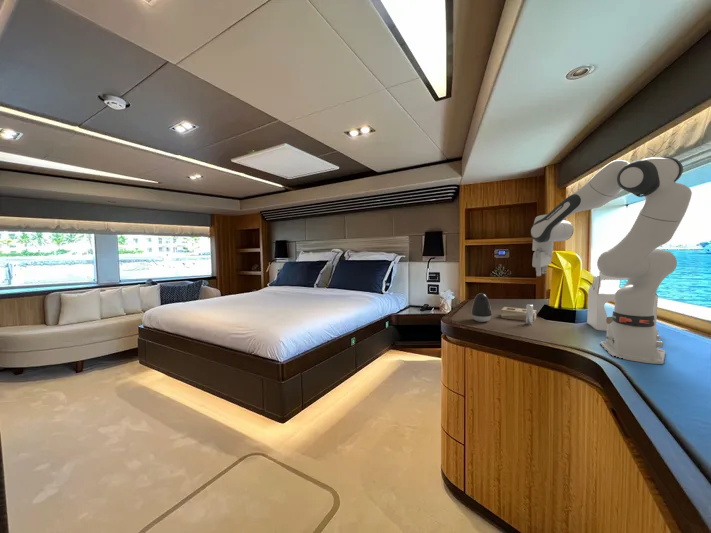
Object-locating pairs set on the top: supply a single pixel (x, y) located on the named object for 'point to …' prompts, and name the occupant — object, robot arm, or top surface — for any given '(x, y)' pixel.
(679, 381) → the top surface
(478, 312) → the dark grey egg speaker
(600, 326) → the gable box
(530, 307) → the peg
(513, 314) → the hole block
